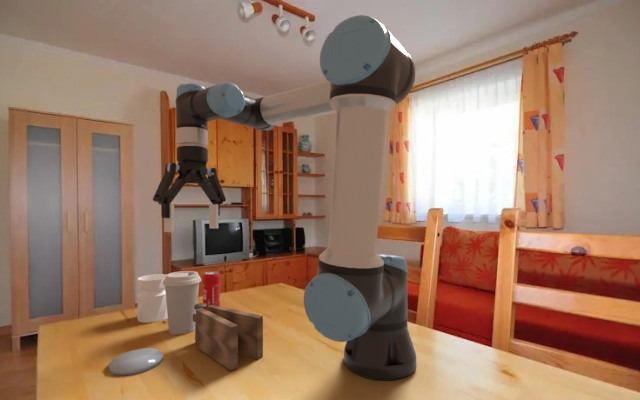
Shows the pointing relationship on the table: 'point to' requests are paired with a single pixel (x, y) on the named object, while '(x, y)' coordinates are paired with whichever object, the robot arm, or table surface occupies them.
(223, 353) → the tongs hinged jaw
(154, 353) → the grey domed disc
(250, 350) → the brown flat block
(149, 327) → the table surface
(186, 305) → the coffee cup
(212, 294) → the beverage can
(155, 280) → the vase
